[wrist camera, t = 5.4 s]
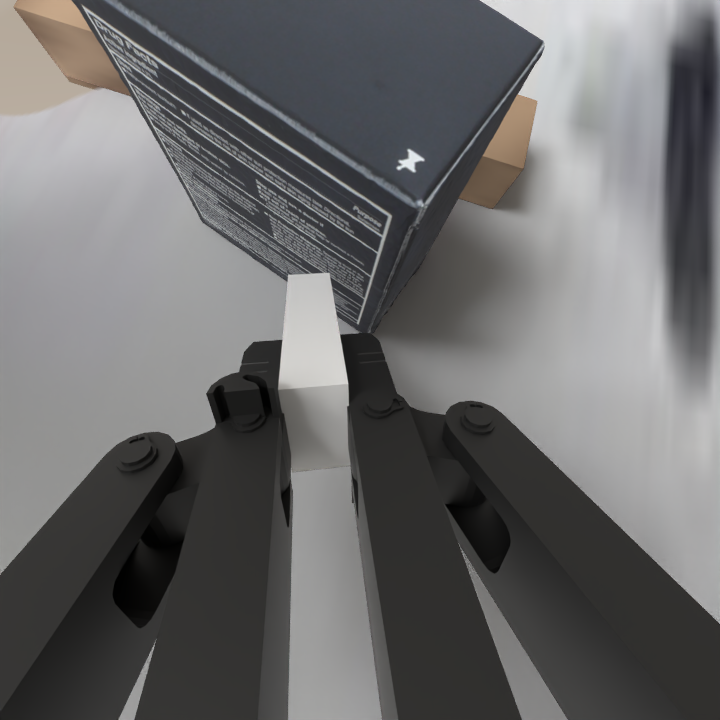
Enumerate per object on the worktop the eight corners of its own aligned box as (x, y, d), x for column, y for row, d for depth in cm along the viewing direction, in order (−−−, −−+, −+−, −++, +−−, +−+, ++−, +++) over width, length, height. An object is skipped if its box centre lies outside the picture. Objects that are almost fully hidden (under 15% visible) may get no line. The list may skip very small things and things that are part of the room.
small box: (436, 244, 19) (566, 31, 9) (368, 340, 18) (427, 224, 7) (275, 135, 19) (217, -197, 9) (197, 222, 18) (22, -51, 8)
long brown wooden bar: (69, 81, 19) (13, 7, 16) (100, 26, 20) (52, -58, 16) (489, 212, 20) (523, 168, 17) (502, 154, 21) (537, 100, 17)
